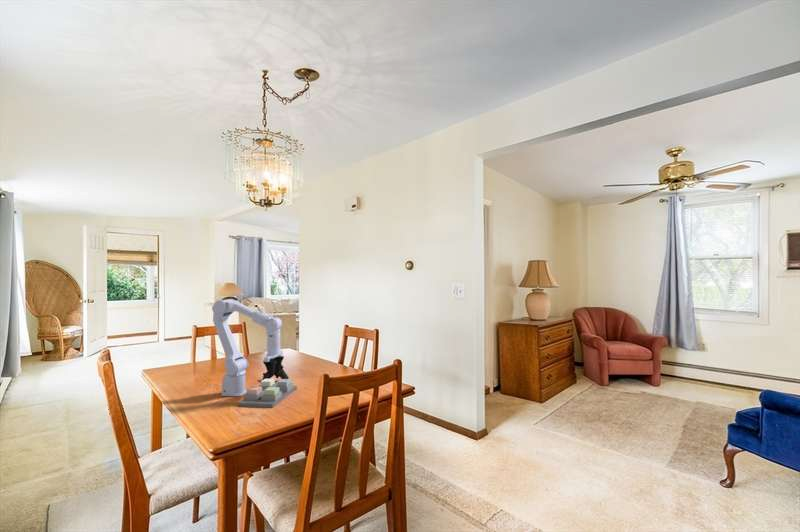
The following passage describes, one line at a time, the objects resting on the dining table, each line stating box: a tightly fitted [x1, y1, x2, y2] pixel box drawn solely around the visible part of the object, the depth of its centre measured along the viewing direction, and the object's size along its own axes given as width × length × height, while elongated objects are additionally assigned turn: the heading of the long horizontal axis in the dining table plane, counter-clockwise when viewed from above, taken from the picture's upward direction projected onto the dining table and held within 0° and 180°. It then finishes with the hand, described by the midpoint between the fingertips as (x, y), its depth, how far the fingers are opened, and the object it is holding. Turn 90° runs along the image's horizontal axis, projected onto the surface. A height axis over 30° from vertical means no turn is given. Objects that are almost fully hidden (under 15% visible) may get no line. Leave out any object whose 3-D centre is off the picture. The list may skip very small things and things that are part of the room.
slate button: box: [276, 378, 292, 387], centre depth 171 cm, size 5×5×2 cm
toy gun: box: [262, 363, 290, 380], centre depth 191 cm, size 2×13×10 cm
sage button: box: [264, 387, 279, 395], centre depth 159 cm, size 5×5×2 cm
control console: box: [238, 382, 298, 408], centre depth 165 cm, size 15×25×4 cm, turn 173°
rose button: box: [246, 385, 262, 395], centre depth 160 cm, size 5×5×2 cm
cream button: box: [260, 378, 276, 386], centre depth 172 cm, size 5×5×2 cm
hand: (273, 374), depth 169 cm, fingers open, 5 cm apart
